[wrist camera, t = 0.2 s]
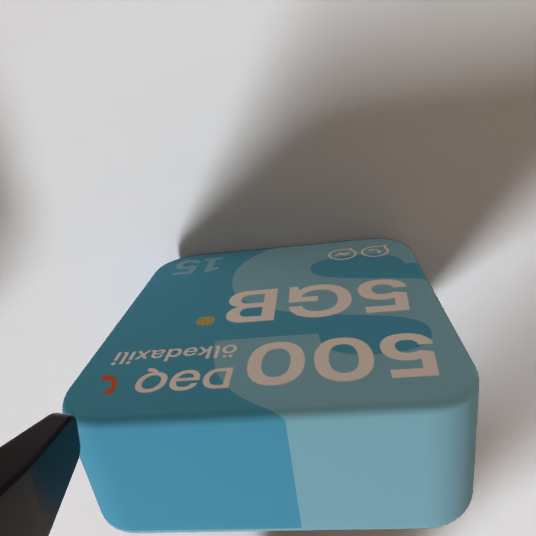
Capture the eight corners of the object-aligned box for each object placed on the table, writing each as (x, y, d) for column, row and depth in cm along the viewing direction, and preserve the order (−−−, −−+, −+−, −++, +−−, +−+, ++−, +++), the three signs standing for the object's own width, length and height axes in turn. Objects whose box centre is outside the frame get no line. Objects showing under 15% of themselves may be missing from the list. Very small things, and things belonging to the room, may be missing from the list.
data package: (404, 233, 22) (500, 402, 11) (405, 315, 24) (489, 532, 13) (164, 257, 23) (36, 425, 12) (182, 332, 25) (84, 537, 14)
